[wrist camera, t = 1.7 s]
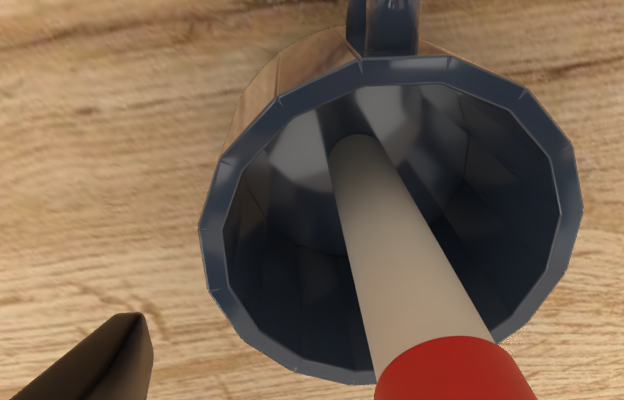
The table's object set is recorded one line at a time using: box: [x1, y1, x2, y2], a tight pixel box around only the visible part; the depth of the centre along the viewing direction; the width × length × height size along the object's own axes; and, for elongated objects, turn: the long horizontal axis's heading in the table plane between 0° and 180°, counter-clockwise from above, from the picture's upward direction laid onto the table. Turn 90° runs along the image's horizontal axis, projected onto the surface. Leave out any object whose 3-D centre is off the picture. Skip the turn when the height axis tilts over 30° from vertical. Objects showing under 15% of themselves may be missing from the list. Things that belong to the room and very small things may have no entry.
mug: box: [198, 0, 584, 385], centre depth 11 cm, size 11×8×6 cm
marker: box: [328, 134, 538, 400], centre depth 9 cm, size 2×2×11 cm
